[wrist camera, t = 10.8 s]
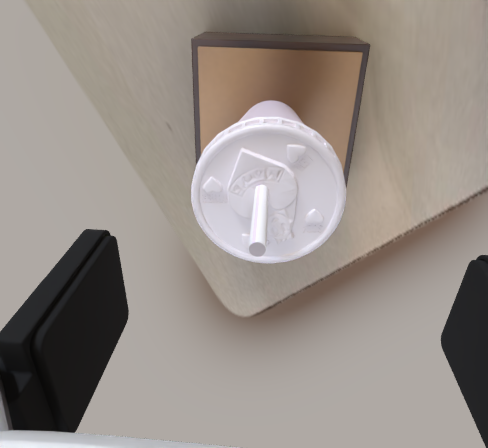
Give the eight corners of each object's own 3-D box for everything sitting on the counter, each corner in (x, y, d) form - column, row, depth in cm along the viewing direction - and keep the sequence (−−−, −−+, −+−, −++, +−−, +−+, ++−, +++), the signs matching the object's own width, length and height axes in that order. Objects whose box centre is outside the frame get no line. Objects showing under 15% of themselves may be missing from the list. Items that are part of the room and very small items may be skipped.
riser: (355, 36, 26) (371, 45, 22) (334, 177, 31) (344, 207, 27) (204, 31, 27) (190, 38, 22) (207, 171, 32) (196, 199, 27)
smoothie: (300, 56, 22) (329, 129, 10) (337, 156, 25) (395, 308, 13) (200, 104, 24) (123, 214, 12) (245, 193, 27) (219, 357, 15)
